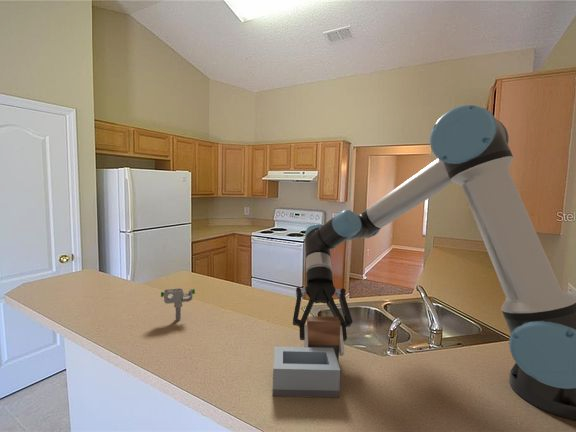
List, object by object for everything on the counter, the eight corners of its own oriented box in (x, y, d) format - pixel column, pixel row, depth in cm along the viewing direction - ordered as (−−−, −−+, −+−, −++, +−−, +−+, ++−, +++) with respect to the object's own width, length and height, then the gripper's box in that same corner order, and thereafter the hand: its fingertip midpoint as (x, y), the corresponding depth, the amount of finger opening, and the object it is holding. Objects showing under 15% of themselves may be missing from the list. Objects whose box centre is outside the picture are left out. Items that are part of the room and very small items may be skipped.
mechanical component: (194, 319, 99) (194, 289, 98) (160, 323, 95) (160, 292, 95) (194, 315, 102) (194, 287, 101) (161, 319, 98) (161, 289, 97)
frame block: (273, 370, 72) (274, 346, 72) (332, 371, 73) (333, 347, 72) (272, 396, 63) (273, 368, 63) (339, 397, 64) (340, 370, 63)
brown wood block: (305, 357, 79) (307, 316, 78) (336, 357, 79) (338, 316, 78) (306, 363, 76) (308, 321, 75) (338, 364, 76) (340, 321, 75)
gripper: (352, 278, 91) (363, 359, 77) (283, 277, 91) (281, 357, 76) (357, 266, 86) (370, 350, 71) (283, 264, 85) (281, 348, 71)
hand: (324, 353), depth 74 cm, fingers closed on brown wood block, 8 cm apart
